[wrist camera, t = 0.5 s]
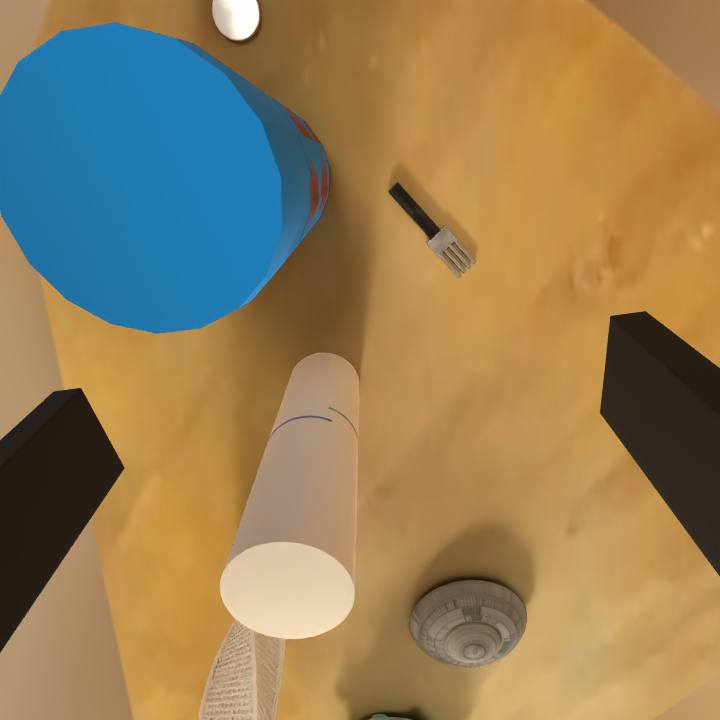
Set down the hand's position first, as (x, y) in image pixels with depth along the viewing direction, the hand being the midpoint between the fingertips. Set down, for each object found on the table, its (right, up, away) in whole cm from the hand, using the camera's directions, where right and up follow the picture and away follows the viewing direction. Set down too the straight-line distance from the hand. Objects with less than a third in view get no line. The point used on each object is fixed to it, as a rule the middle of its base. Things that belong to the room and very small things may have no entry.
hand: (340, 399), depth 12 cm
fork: (+7, +13, +30) cm, 33 cm away
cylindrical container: (-3, -1, +36) cm, 36 cm away
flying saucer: (+14, -32, +49) cm, 60 cm away
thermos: (-7, +17, +28) cm, 33 cm away
